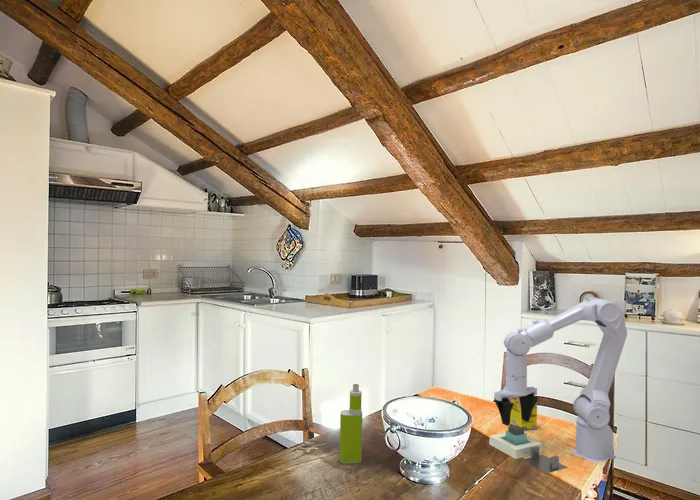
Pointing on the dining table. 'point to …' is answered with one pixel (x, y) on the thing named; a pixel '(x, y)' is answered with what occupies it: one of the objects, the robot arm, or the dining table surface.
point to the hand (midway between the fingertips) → (515, 422)
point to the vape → (351, 429)
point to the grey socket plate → (543, 461)
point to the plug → (516, 435)
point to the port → (513, 446)
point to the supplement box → (517, 419)
